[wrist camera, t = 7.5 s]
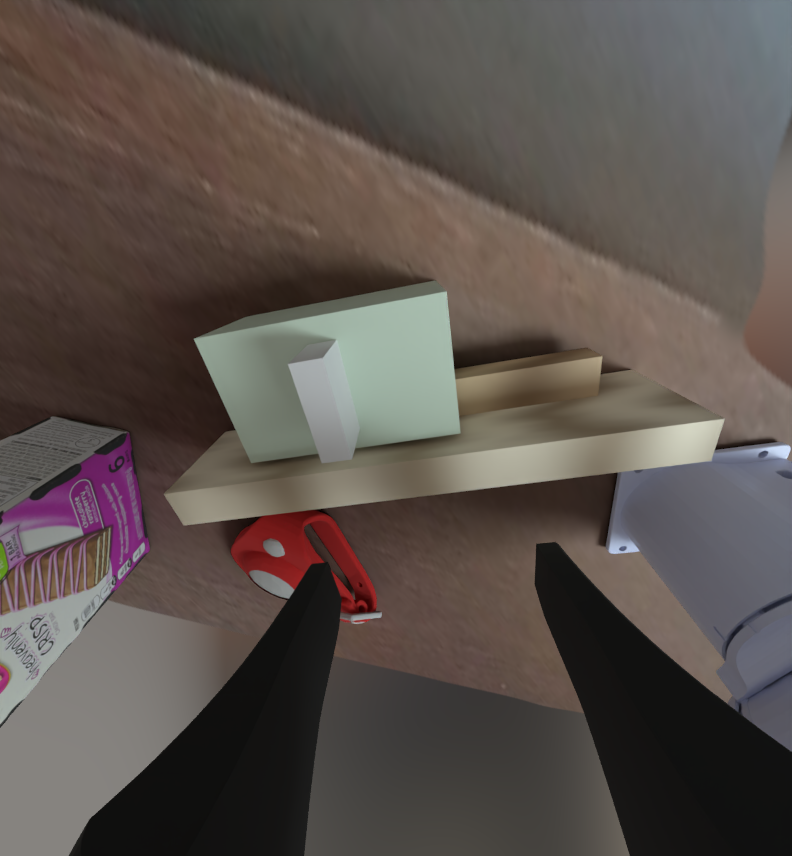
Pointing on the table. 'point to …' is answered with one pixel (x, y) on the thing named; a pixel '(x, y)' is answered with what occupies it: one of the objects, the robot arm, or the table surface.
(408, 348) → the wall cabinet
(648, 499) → the robot arm
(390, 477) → the wall board
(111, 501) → the candy bar box
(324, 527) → the tracker holder
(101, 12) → the table surface
